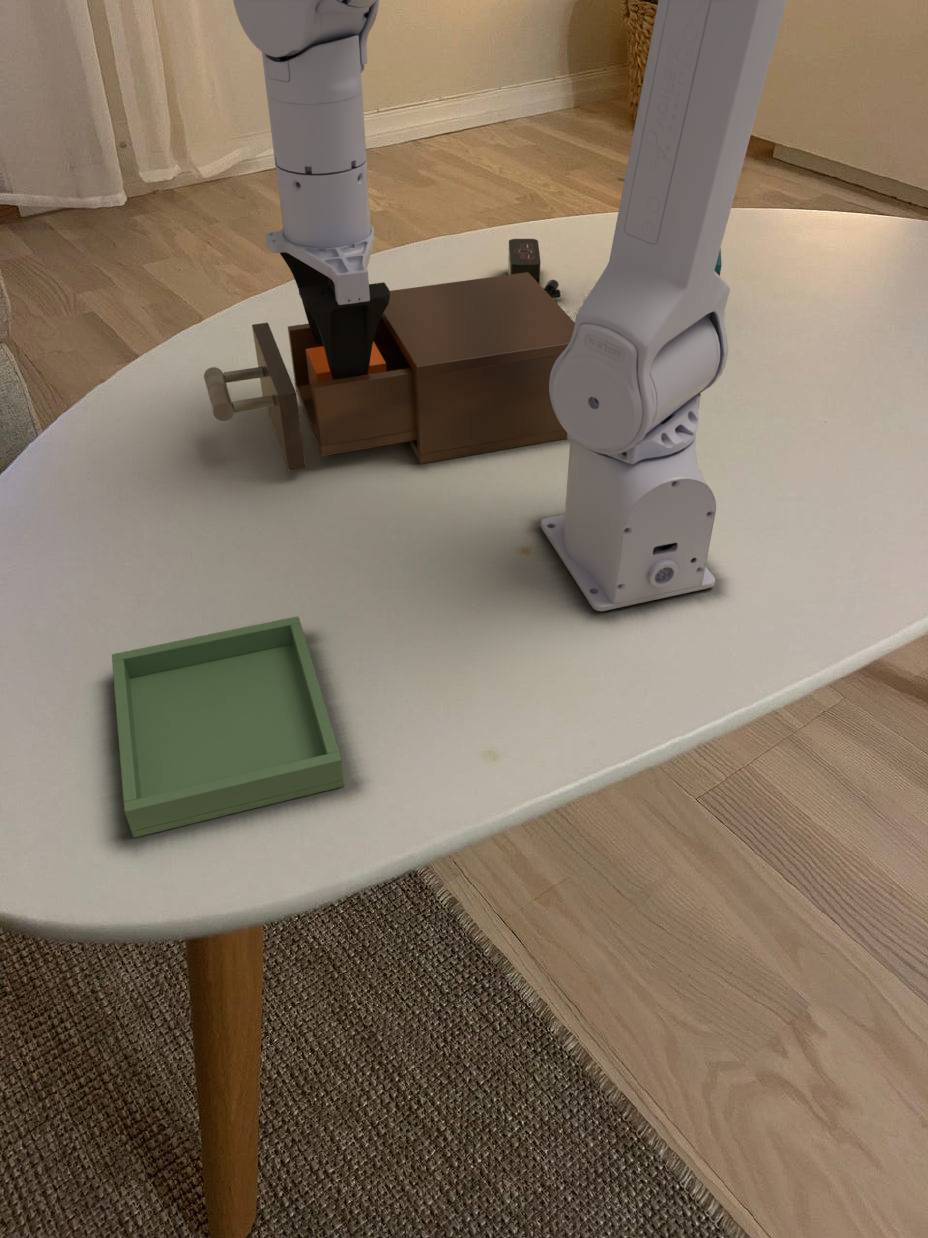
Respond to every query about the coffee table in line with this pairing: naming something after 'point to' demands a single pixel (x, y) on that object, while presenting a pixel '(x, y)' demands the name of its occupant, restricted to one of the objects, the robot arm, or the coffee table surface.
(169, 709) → the tray
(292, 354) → the drawer
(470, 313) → the cabinet
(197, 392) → the coffee table surface
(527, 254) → the wireless earbuds
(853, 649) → the coffee table surface
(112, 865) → the coffee table surface
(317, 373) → the matte orange cube
